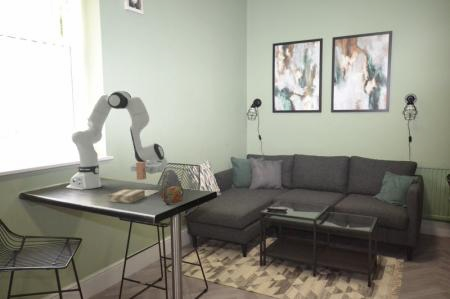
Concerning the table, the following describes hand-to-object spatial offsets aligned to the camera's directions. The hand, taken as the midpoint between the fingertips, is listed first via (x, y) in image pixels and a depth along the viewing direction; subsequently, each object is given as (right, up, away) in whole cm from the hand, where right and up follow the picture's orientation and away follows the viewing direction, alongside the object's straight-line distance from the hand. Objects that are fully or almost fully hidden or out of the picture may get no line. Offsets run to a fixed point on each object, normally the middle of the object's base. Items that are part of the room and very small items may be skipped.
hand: (140, 170), depth 220 cm
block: (0, -5, +1) cm, 6 cm away
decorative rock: (+20, -15, -4) cm, 25 cm away
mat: (0, -14, +2) cm, 14 cm away
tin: (+22, -16, -21) cm, 35 cm away
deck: (-4, -16, -13) cm, 21 cm away
